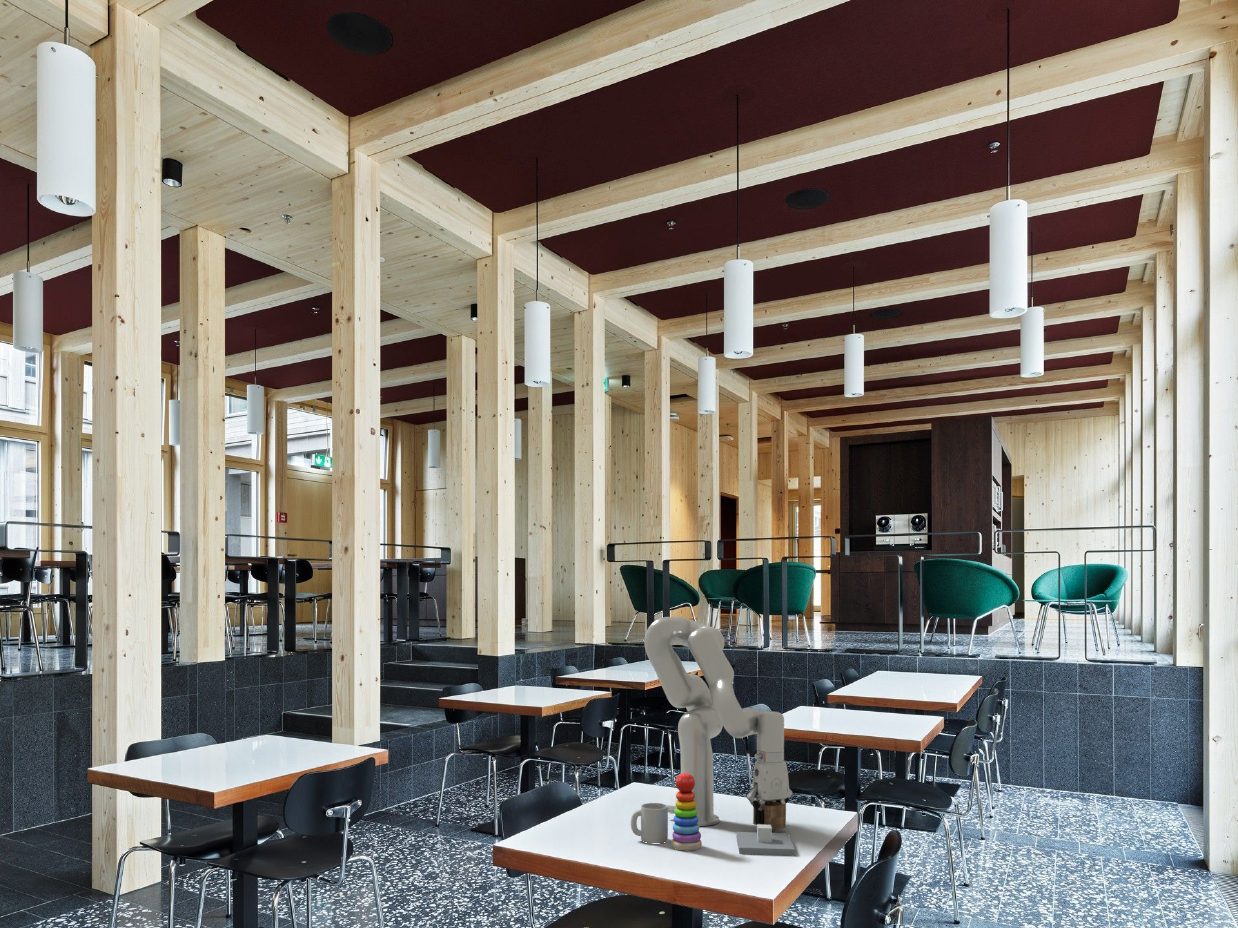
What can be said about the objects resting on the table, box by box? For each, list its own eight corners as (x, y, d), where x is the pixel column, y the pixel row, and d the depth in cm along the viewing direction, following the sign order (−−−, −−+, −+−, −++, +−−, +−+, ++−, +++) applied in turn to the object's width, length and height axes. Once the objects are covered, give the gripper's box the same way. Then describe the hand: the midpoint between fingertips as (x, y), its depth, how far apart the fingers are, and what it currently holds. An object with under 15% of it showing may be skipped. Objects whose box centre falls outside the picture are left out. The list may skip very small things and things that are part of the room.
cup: (668, 844, 228) (668, 809, 229) (630, 844, 228) (631, 808, 229) (667, 837, 235) (666, 802, 236) (630, 836, 235) (630, 802, 236)
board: (739, 853, 220) (739, 832, 221) (736, 837, 235) (736, 818, 236) (794, 855, 219) (794, 834, 220) (788, 839, 234) (788, 819, 234)
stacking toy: (671, 842, 230) (671, 769, 233) (701, 843, 229) (701, 769, 232) (670, 850, 222) (670, 775, 225) (701, 851, 221) (701, 775, 224)
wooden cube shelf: (767, 829, 238) (768, 807, 239) (753, 823, 243) (753, 801, 244) (785, 827, 241) (786, 804, 242) (770, 821, 246) (771, 799, 247)
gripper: (754, 761, 237) (753, 829, 235) (802, 757, 246) (801, 823, 243) (737, 756, 244) (736, 822, 241) (784, 752, 252) (784, 816, 250)
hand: (769, 822), depth 242 cm, fingers closed on wooden cube shelf, 6 cm apart
